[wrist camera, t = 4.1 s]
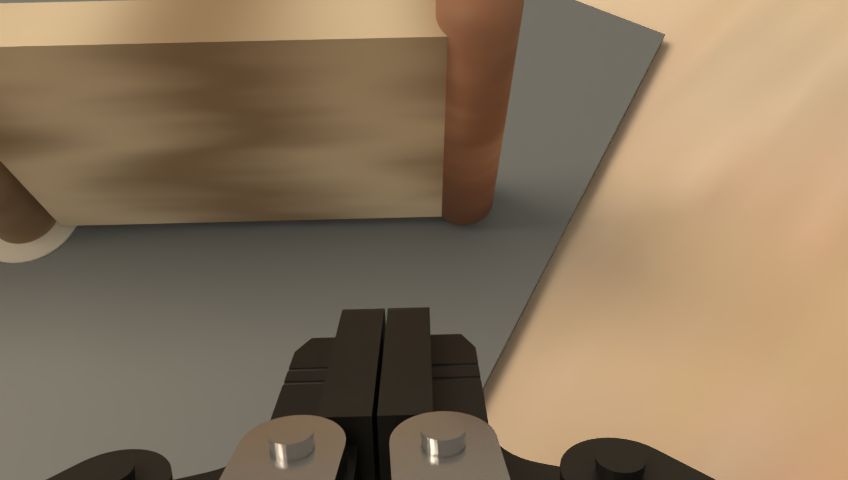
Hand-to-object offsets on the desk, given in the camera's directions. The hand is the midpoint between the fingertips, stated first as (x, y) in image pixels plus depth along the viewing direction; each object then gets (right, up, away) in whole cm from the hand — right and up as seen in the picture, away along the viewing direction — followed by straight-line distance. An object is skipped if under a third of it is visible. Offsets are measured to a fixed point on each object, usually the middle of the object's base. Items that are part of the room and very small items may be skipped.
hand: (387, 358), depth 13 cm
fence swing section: (-4, +3, +9) cm, 11 cm away
